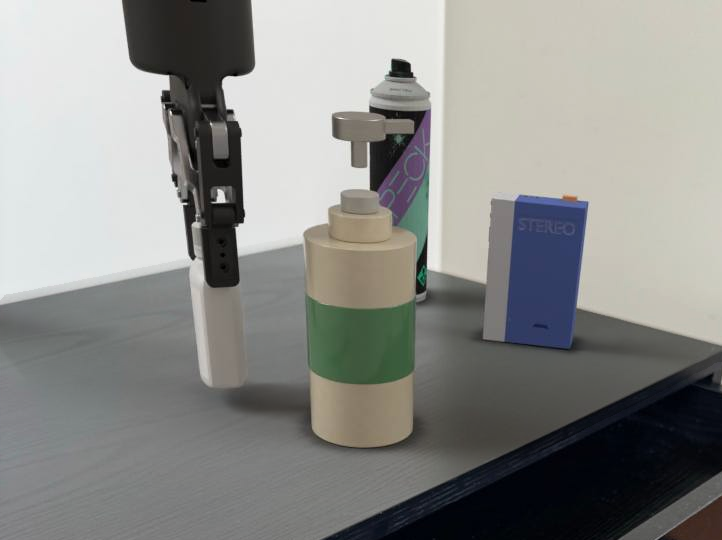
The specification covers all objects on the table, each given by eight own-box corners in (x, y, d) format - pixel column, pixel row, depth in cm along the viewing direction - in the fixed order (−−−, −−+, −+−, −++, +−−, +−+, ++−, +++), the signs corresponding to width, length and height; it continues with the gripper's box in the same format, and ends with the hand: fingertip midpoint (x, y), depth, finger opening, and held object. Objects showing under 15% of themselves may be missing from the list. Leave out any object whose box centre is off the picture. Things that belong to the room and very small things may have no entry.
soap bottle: (327, 453, 65) (318, 208, 56) (299, 412, 71) (287, 181, 62) (428, 441, 68) (435, 204, 59) (393, 402, 73) (395, 179, 64)
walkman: (572, 339, 87) (589, 196, 80) (569, 349, 85) (586, 203, 78) (487, 329, 88) (496, 187, 81) (481, 339, 86) (490, 193, 79)
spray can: (359, 292, 95) (356, 56, 84) (403, 284, 98) (405, 55, 87) (393, 307, 92) (395, 63, 80) (437, 298, 95) (445, 62, 83)
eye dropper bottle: (178, 385, 70) (156, 206, 63) (215, 360, 74) (198, 190, 67) (234, 394, 69) (218, 214, 62) (268, 368, 73) (256, 198, 66)
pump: (341, 172, 58) (340, 119, 56) (326, 161, 60) (325, 111, 58) (420, 171, 60) (421, 119, 58) (402, 160, 62) (403, 111, 60)
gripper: (104, -31, 61) (142, 248, 71) (135, -17, 51) (175, 308, 61) (224, -25, 64) (245, 244, 74) (277, -10, 53) (293, 300, 63)
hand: (213, 271), depth 67 cm, fingers closed on eye dropper bottle, 5 cm apart
